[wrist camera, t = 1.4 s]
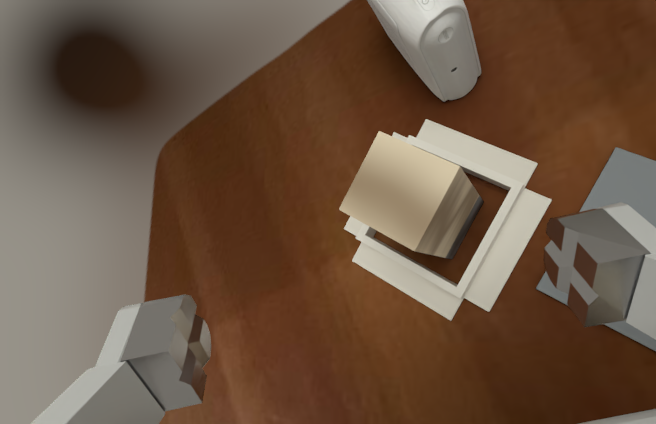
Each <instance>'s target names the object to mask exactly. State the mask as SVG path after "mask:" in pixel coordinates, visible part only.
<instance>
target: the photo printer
mask: <svg viewBox="0 0 656 424" xmlns="http://www.w3.org/2000/svg"><path fill="white" fill-rule="evenodd" d="M367 1H368V3H369V4H370V6H371V8H372V9H373V11H374V13H375V14H376V16H377V18H378V19H379V21H380V23H381V24H382V26H383V28H384V30H385V32H386V33H387V35H388V37H389V38H390V39H391V41H392V42H393V43H394V45H395V46H396V47H397V49H398V50H399V52H400V53H401V54H402V55H403V57H404V58H405V59H406V61H407V62H408V63H409V64H410V66H411V67H412V68H413V70H414V71H415V72H416V73H417V75H418V76H419V77H420V78H421V80H422V81H423V82H424V83H425V84H426V85H427V87H428V88H429V89H430V90H431V91H432V92H433V93H434V94H435V95H436V96H437V97H438V98H439V99H441V100H442V101H443V102H445V101H446V100H455V99H458V98H461V97H463V96H465V95H466V94H467V93H469V92H470V91H471V90H472V89H473V87H474V85H475V84H476V82H477V77H478V76H480V75H481V67H480V62H479V57H478V53H477V49H476V45H475V40H474V36H473V32H472V27H471V23H470V19H469V16H468V12H467V9H466V6H465V4H464V2H463V0H367Z"/></svg>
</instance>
